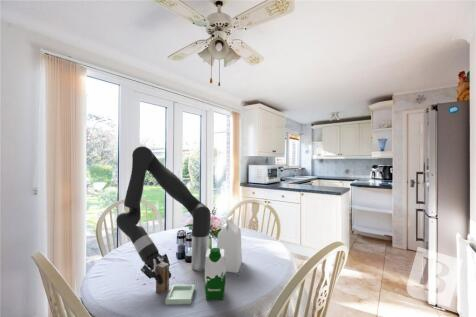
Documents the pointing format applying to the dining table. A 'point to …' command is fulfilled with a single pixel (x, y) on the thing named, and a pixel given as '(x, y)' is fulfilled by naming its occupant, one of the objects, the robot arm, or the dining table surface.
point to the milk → (231, 245)
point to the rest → (180, 294)
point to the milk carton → (215, 274)
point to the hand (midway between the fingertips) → (165, 280)
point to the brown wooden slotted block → (163, 277)
